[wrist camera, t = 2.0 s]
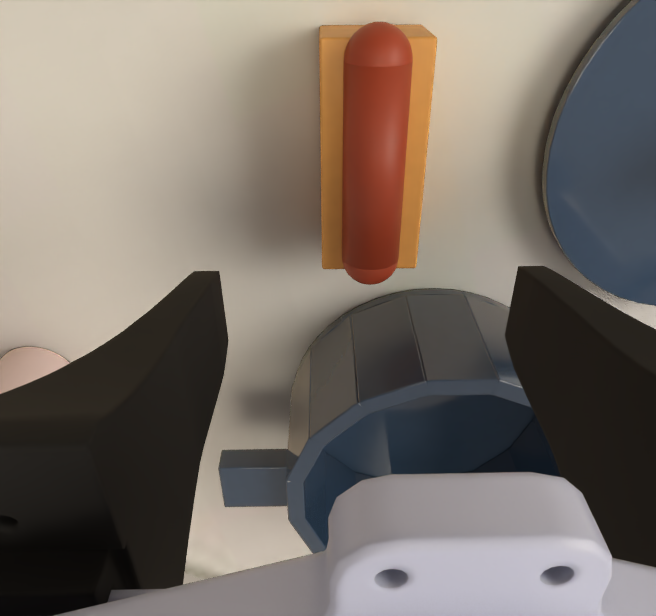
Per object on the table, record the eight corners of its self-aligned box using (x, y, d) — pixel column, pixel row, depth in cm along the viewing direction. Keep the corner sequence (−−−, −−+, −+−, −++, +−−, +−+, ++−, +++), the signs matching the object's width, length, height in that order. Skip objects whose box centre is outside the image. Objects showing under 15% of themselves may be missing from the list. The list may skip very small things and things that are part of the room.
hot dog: (319, 11, 18) (318, 27, 15) (424, 10, 18) (446, 26, 15) (322, 244, 23) (322, 295, 20) (405, 244, 23) (420, 295, 20)
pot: (223, 290, 24) (198, 383, 19) (641, 285, 24) (725, 376, 19) (248, 484, 31) (233, 590, 26) (573, 480, 31) (622, 585, 26)
